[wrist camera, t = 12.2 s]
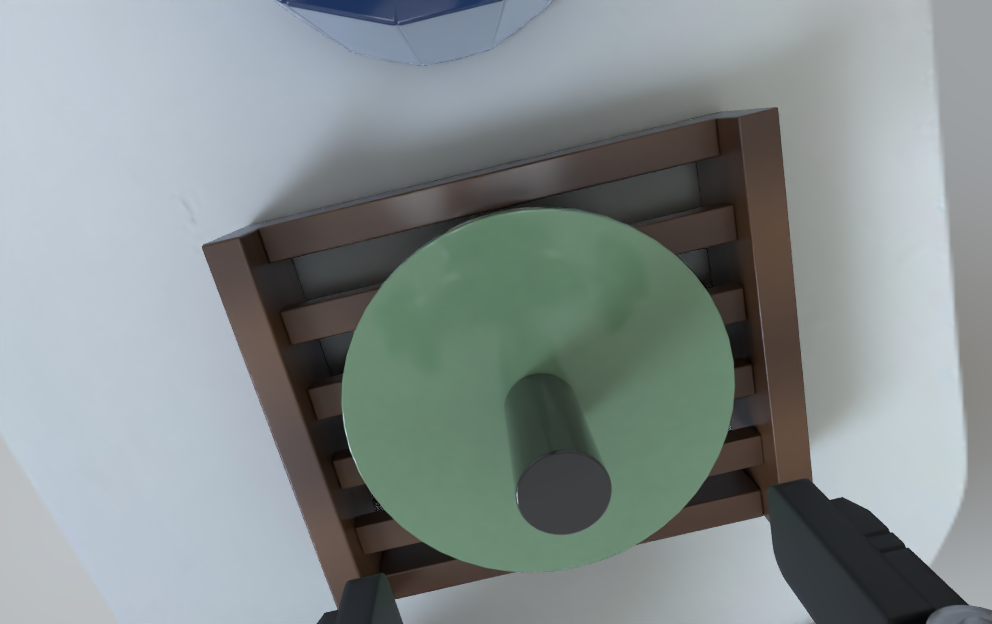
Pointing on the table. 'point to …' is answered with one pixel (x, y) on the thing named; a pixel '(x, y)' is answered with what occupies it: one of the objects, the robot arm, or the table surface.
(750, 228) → the plate rack
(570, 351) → the lid
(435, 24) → the pot
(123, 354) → the table surface
